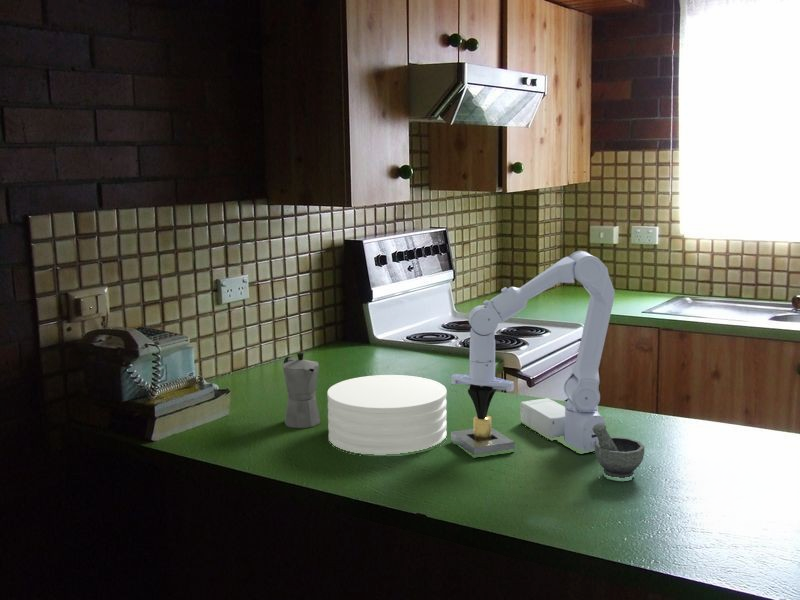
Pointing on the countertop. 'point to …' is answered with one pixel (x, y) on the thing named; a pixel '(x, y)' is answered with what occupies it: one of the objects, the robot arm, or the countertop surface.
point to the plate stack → (387, 414)
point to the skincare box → (544, 416)
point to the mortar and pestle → (617, 453)
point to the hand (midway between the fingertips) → (482, 417)
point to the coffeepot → (301, 392)
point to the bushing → (482, 429)
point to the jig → (481, 442)
